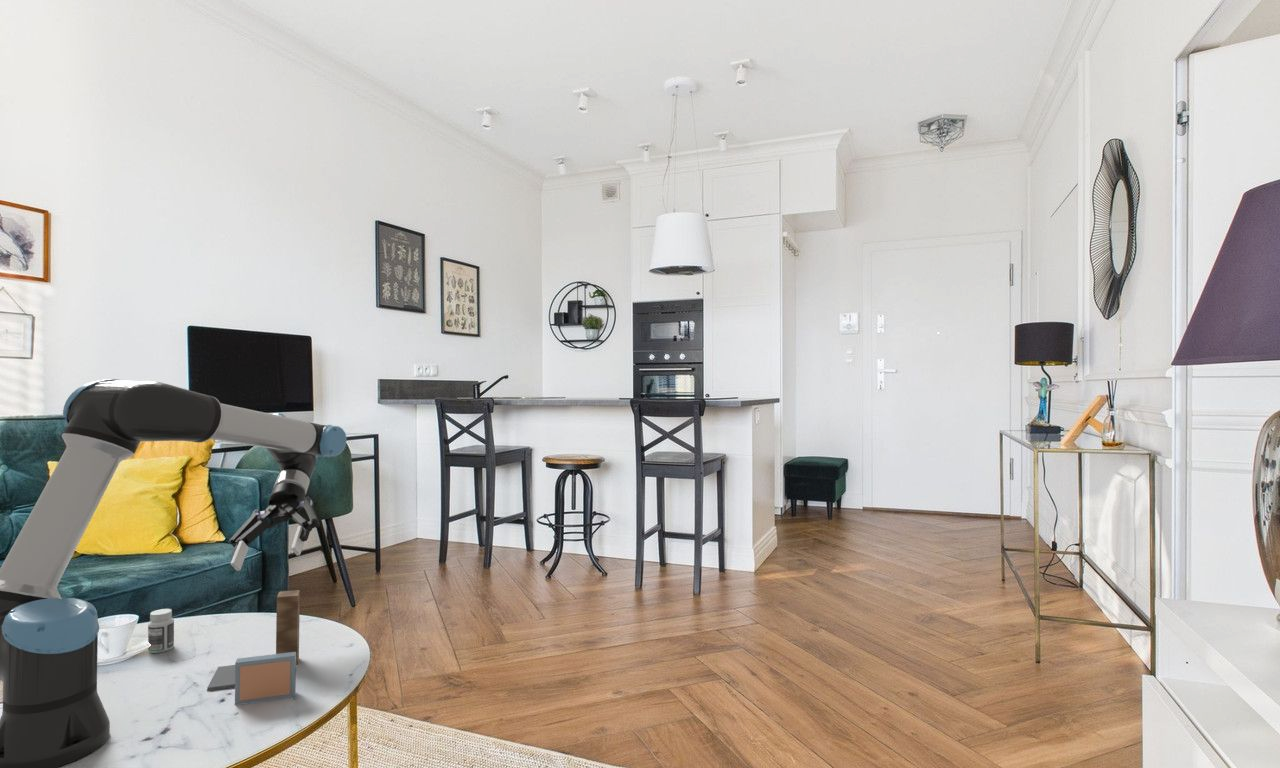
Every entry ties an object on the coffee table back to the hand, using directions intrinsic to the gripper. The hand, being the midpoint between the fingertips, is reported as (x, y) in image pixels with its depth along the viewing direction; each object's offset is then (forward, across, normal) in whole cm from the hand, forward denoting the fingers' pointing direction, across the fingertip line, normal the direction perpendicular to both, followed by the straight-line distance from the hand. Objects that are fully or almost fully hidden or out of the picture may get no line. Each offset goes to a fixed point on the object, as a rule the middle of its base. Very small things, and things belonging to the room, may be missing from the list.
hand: (265, 559), depth 149 cm
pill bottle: (+7, +28, -12) cm, 31 cm away
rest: (+22, +4, -10) cm, 24 cm away
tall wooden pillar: (+17, -2, -15) cm, 23 cm away
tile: (+31, -5, -6) cm, 32 cm away
